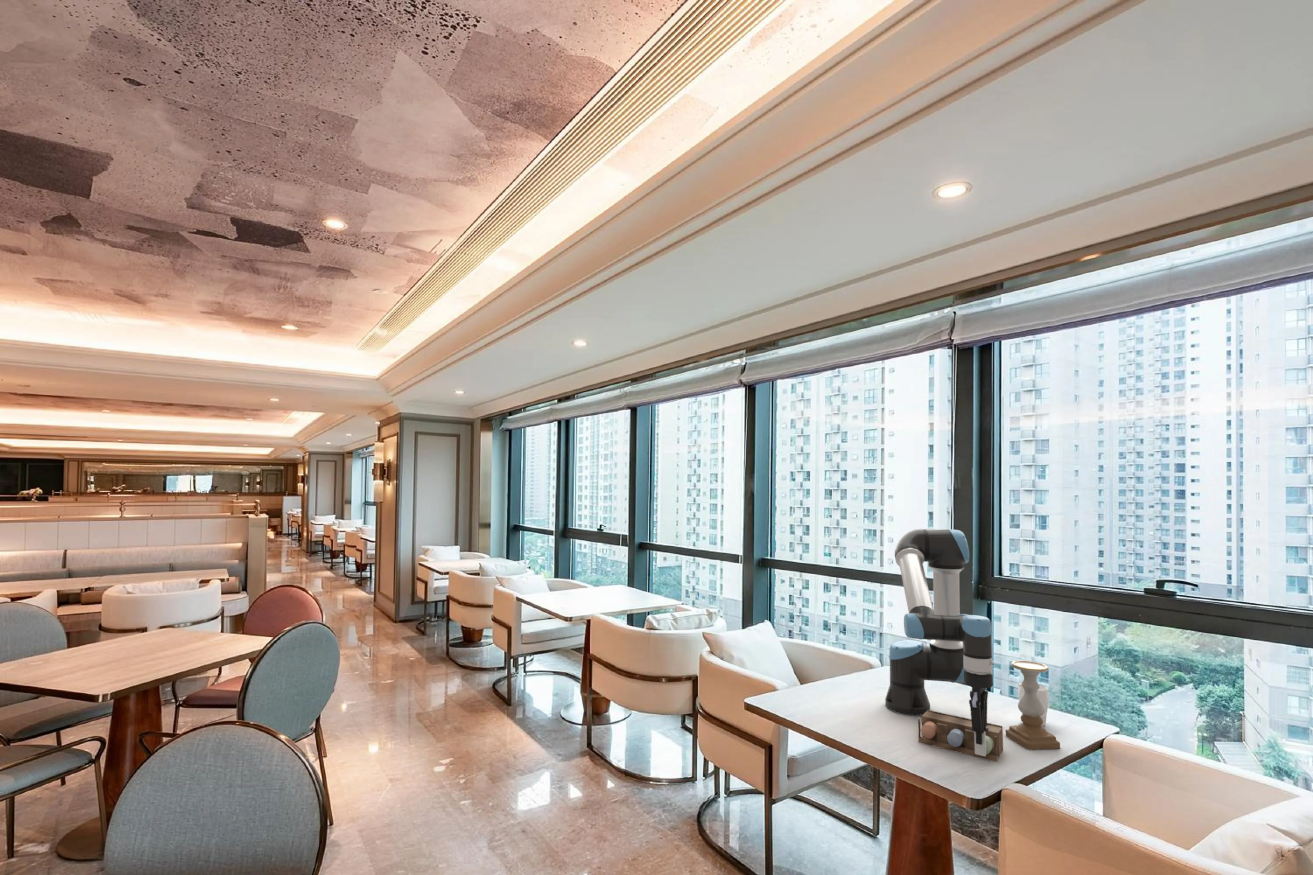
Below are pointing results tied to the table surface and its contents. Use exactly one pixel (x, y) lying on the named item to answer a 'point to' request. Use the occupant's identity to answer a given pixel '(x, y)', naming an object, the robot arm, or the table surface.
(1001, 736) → the console
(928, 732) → the button terracotta
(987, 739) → the button sage
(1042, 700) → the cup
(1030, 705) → the candle holder
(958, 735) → the button slate
